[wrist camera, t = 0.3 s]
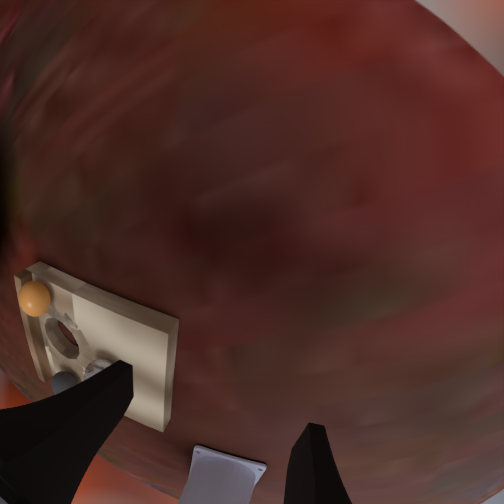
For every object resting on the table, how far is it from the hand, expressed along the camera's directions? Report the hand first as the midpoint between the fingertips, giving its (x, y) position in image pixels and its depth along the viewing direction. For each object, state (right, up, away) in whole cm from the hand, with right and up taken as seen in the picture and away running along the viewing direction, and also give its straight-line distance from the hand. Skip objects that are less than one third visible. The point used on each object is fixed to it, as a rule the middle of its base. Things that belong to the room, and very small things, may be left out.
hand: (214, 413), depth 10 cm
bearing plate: (-12, -3, +14) cm, 19 cm away
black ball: (-17, -7, +13) cm, 22 cm away
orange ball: (-16, +2, +9) cm, 19 cm away
